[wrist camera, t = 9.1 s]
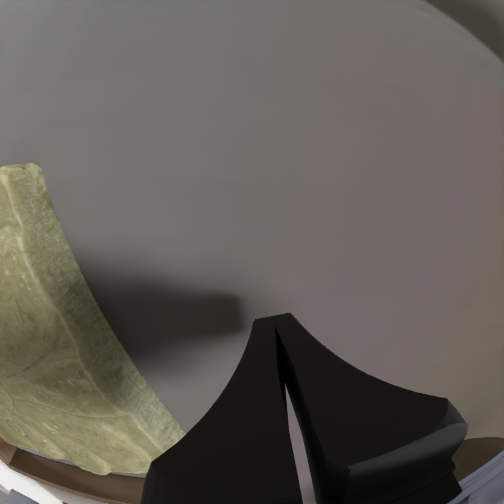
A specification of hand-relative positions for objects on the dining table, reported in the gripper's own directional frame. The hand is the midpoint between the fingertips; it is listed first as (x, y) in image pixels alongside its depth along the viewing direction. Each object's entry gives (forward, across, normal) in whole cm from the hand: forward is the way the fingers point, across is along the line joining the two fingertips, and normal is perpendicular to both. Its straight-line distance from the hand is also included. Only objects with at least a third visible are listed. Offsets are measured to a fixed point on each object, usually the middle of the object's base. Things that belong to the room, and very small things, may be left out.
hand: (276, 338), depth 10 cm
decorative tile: (+3, +17, +2) cm, 18 cm away
